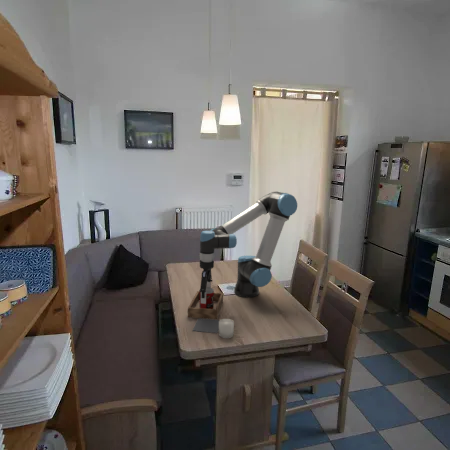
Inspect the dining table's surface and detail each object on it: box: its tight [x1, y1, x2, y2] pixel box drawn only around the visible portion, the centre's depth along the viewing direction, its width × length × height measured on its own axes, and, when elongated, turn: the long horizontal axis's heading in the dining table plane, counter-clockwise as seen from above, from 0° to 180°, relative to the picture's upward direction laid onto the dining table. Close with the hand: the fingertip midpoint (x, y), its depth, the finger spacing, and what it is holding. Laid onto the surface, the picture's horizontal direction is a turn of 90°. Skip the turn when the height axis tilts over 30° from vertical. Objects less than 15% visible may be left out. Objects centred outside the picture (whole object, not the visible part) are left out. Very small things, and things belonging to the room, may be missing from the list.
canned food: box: [198, 287, 215, 309], centre depth 172 cm, size 8×8×11 cm
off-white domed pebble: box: [218, 318, 235, 339], centre depth 147 cm, size 7×7×6 cm
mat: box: [192, 318, 221, 334], centre depth 155 cm, size 12×12×1 cm
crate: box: [187, 291, 224, 320], centre depth 172 cm, size 15×22×5 cm
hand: (205, 298), depth 171 cm, fingers open, 13 cm apart
